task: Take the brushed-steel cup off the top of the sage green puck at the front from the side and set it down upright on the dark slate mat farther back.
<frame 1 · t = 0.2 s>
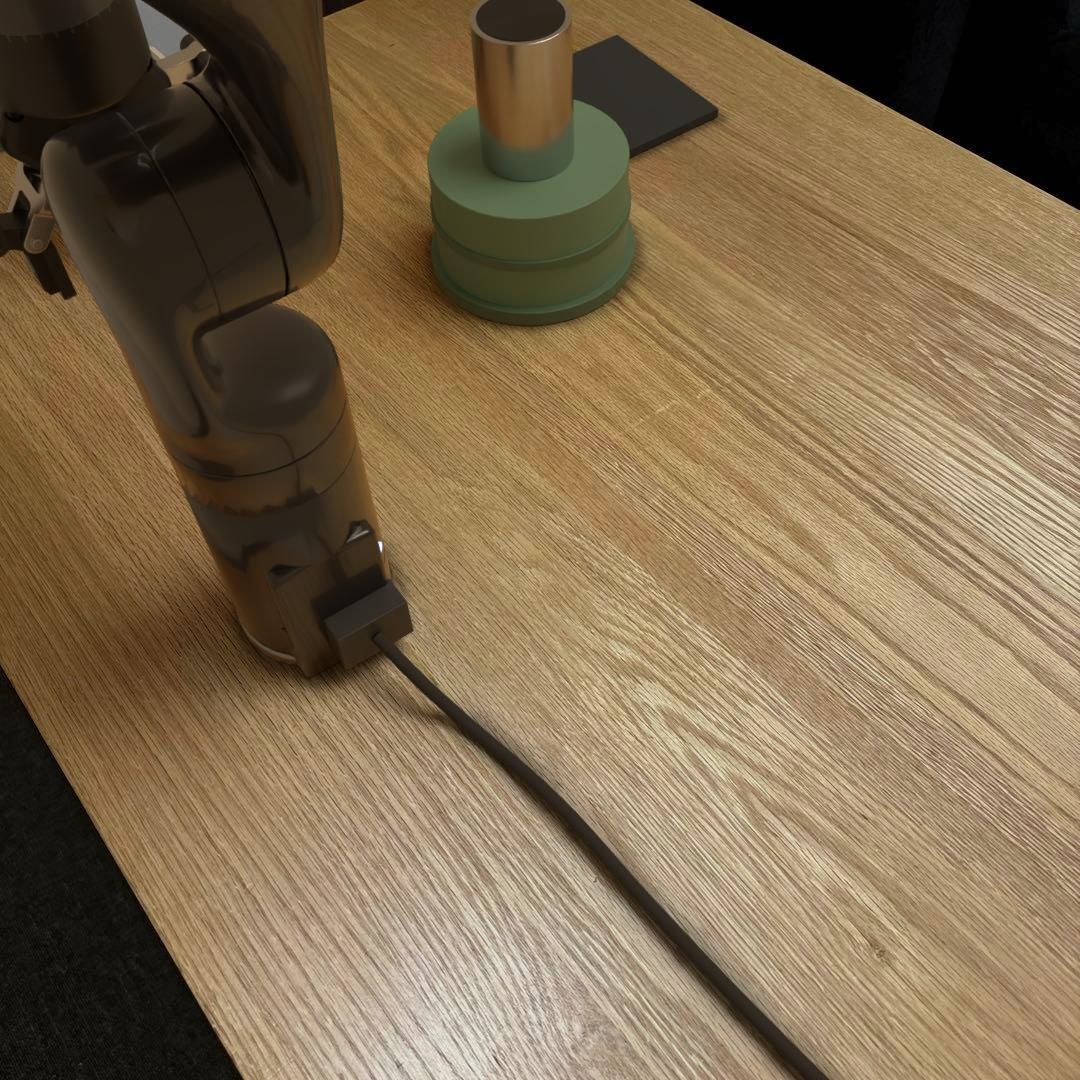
hand: (139, 256, 65), 17 cm above the table, tool pointing down, fingers open, 8 cm apart
food container: (281, 130, 100), on the table
sage green puck: (533, 255, 90), on the table
steel cup: (528, 153, 82), point 9 cm above the table, touching sage green puck
mat: (609, 103, 101), on the table
plastic cup: (146, 220, 94), on the table
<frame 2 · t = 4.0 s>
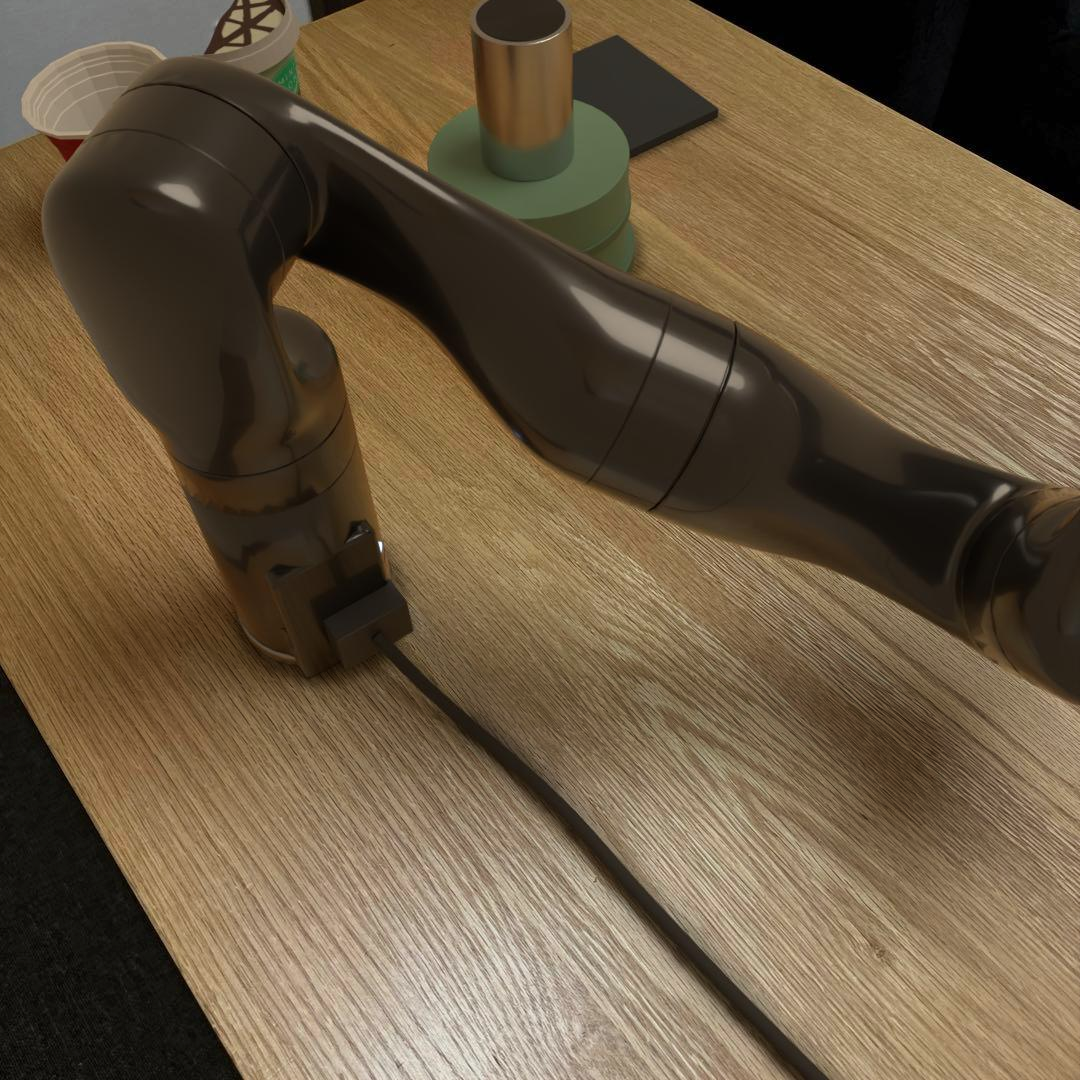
nothing on the table moved.
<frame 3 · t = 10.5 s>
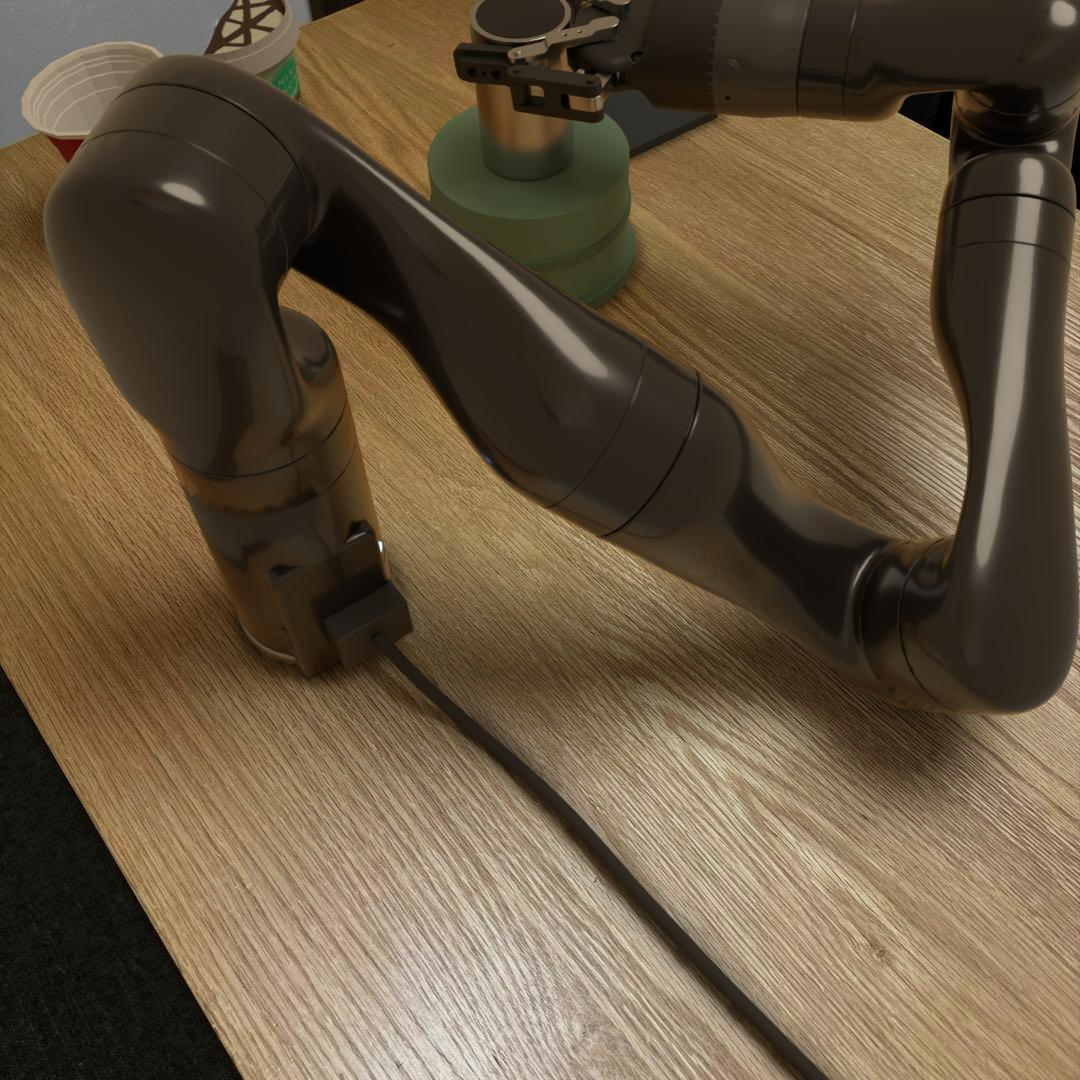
hand: (477, 29, 76), 17 cm above the table, tool horizontal, fingers closed on steel cup, 6 cm apart
steel cup: (528, 152, 82), point 9 cm above the table, touching sage green puck, gripper
everything else where it was.
when the fingers open (10 cm above the table, at t = 20.7 s): steel cup stays where it is, resting on mat.
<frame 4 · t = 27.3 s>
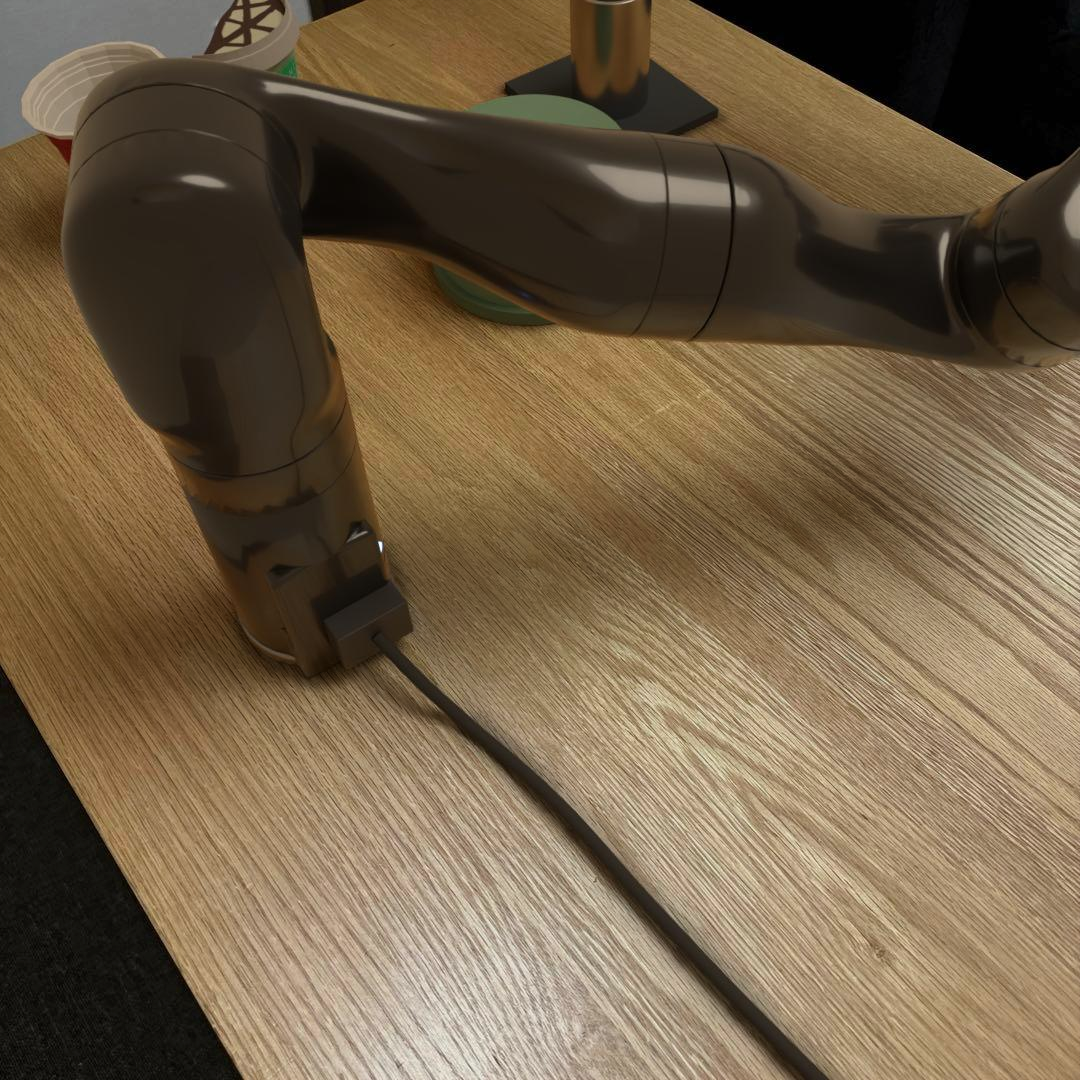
steel cup: (609, 97, 100), point 1 cm above the table, touching mat
everything else where it was.
at the end: steel cup inside the target area on the mat (0.3 cm from its centre), point 0.8 cm above the mat's base; steel cup tilted 0°; steel cup touching mat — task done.
